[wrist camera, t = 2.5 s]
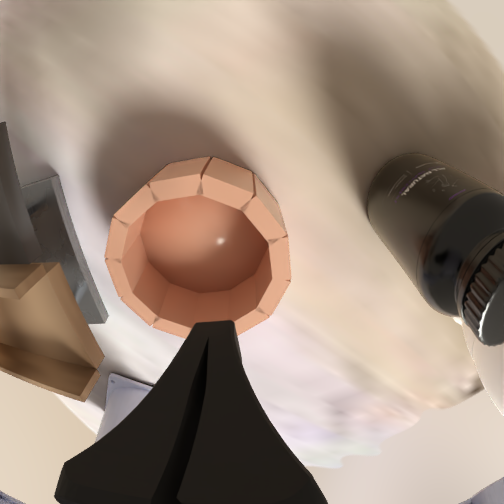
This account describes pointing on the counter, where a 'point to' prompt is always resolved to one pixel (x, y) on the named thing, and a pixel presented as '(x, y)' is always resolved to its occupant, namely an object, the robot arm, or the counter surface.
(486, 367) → the white tapered cylinder
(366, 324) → the counter surface
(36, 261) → the trough stand
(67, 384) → the brown tray
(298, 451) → the counter surface
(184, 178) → the cup
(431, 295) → the supplement bottle
